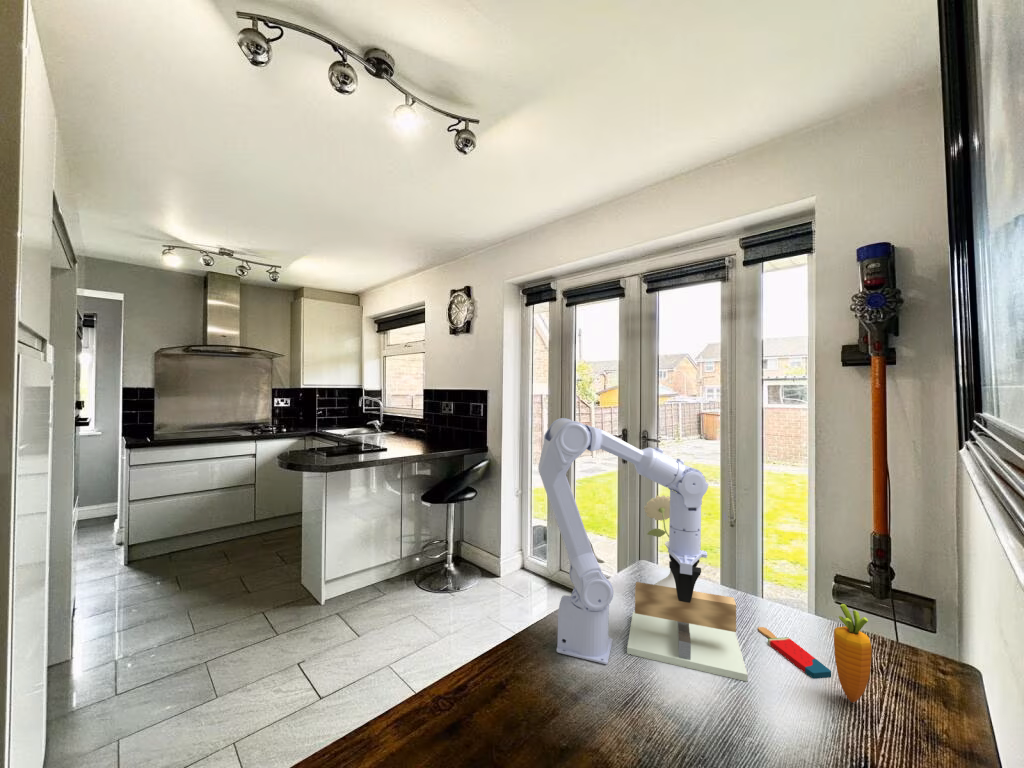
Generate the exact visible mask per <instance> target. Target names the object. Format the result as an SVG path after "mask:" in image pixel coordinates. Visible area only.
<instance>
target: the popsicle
mask: <svg viewBox="0 0 1024 768" xmlns="http://www.w3.org/2000/svg"><path fill="white" fill-rule="evenodd" d="M757 630H758V631H759V633H761V634H762V635H763V636H765V637H767V645H769V646H770V647H771V648H772V649H774V650H775V651H776V652H778V653H779V654H780V655H781V656H782V657H784V658H785V659H787V661H789V662H790V663H792V664H793V665H794V666H796V667H797V668H798V669H800V671H802V672H803V673H805V674H806V675H807V676H808V677H810V678H812V679H813V680H814V679H815V680H816V679H826V678H828V679H829V678H832V671H831V670H830V669H829V668H828V667H827V666H826V665H824V664H823V663H822V662H821V661H820V660H818V659H816V658H815V657H814V656H813V655H812V654H810V653H809V652H808V651H807V650H805V649H804V648H803V647H801V646H800V645H798V643H796V642H795V641H793V640H792V639H791V638H789V637H787V636H785V637H777V636H776V635H775V634H774V633H773V632H772V631H771V630H769V629H768V628H766V627H765V626H759V627H757Z"/></svg>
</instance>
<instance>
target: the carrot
mask: <svg viewBox="0 0 1024 768" xmlns="http://www.w3.org/2000/svg"><path fill="white" fill-rule="evenodd" d="M839 608H840V610H841V612H842V614H843V615H844V616H845V617H843V616H841V615H839V616H838V619H839V620H841V622H842V623H843V625H844V626H837V627H834V629H833V644H834V645H833V649H834V658H835V659H834V660H835V665H836V672H837V676H838V681H839V683H840V685H841V689H842V690H843V693H844V694H845V696H846V699H848V700H849V702H850V703H856V702H857V701H858V700H860V698H861V697H862V696H863V695H864V693H865V691H866V689H867V685H868V682H869V679H870V674H871V667H872V652H873V651H872V644H871V643H872V642H871V639H870V637H869V636H868V635H867V634H866V633H864V632H862V631H861V629H863V627H864V625H866V624H867V623H868V622H869V620H868V618H867V617H865V616H864V617H862V618H861V616H860V612H859V611H857V610H852V614H851V612H850V610H849V608H848V607H847V605H846V604H844V603H841V604H840V605H839ZM852 615H853V617H852ZM853 619H854V620H853Z"/></svg>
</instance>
